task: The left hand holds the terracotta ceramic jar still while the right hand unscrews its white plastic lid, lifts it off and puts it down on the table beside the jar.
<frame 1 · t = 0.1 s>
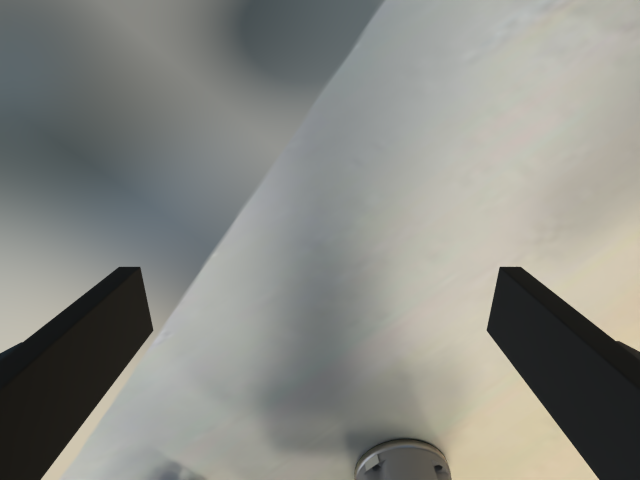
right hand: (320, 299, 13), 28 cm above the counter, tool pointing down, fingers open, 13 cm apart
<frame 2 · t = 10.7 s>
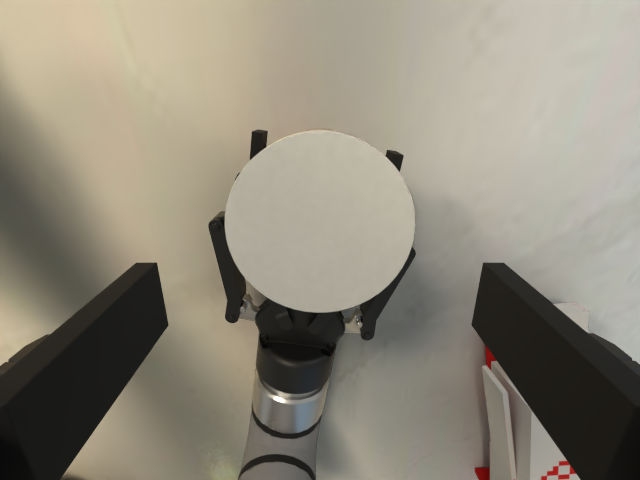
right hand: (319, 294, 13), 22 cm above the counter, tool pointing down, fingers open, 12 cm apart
toy: (513, 392, 44), on the counter
lid: (319, 229, 20), point 15 cm above the counter, screwed on, not yet turned
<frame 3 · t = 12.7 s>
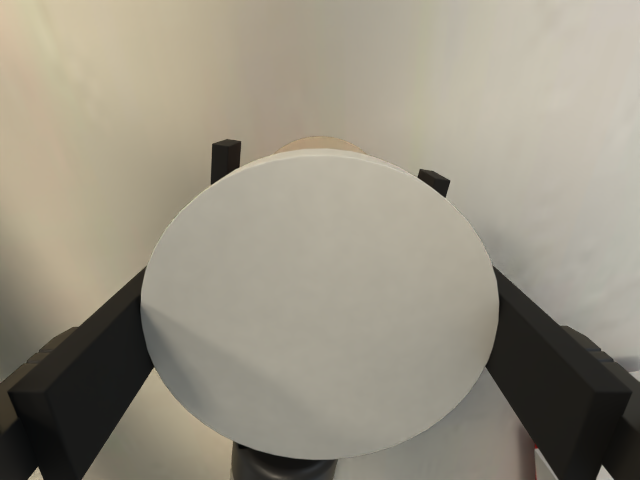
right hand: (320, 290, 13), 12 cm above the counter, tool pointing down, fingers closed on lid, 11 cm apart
toy: (564, 467, 34), on the counter
lid: (319, 329, 11), point 15 cm above the counter, screwed on, not yet turned, touching right hand
jar: (319, 206, 25), on the counter, touching left hand
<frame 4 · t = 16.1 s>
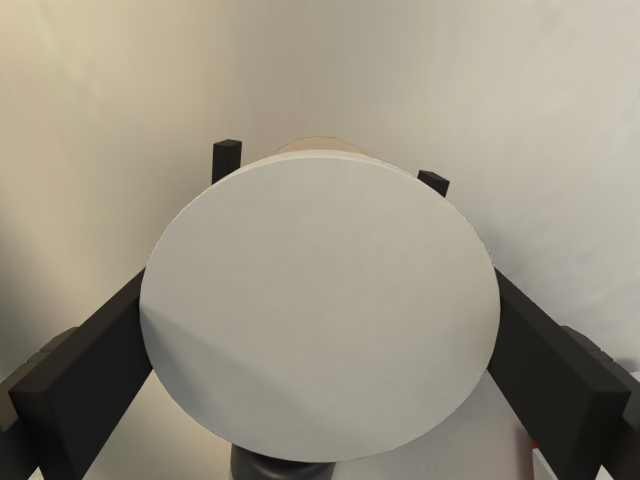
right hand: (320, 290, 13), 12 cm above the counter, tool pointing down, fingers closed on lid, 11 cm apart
toy: (562, 468, 35), on the counter
lid: (319, 331, 11), point 15 cm above the counter, turned 126° so far, risen 0.2 cm, still on its thread, touching right hand
jar: (319, 207, 25), on the counter, touching left hand
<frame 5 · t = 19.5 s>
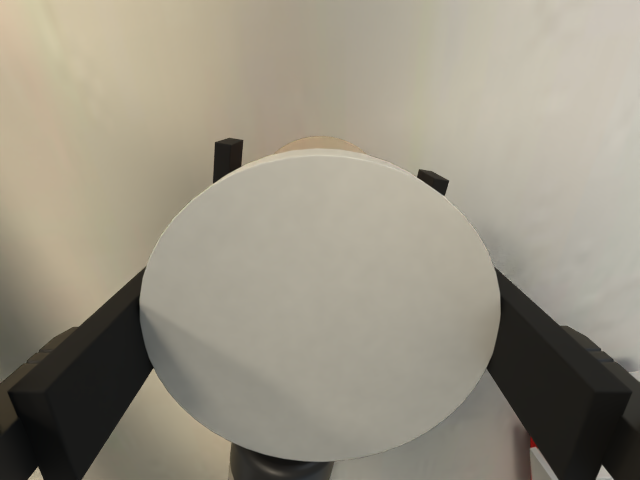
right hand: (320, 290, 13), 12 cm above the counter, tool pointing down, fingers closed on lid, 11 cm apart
toy: (559, 467, 35), on the counter
lid: (320, 330, 11), point 15 cm above the counter, turned 252° so far, risen 0.3 cm, still on its thread, touching right hand
jar: (319, 206, 25), on the counter, touching left hand
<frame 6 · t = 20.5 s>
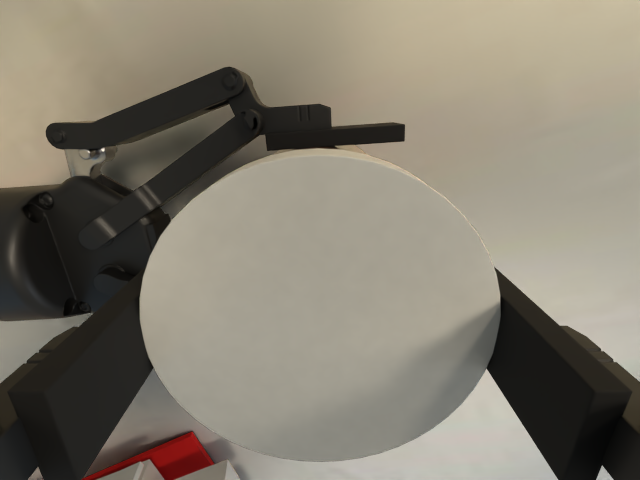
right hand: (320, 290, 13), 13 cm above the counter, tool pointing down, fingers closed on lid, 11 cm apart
left hand: (397, 230, 19), fingers closed on jar, 10 cm apart
lid: (320, 330, 11), point 15 cm above the counter, turned 329° so far, risen 0.4 cm, still on its thread, touching right hand
when the right hand's fingers open (0 cm above the counter, at t = 26.0 s): lid drops 2 cm, point 1 cm above the counter.
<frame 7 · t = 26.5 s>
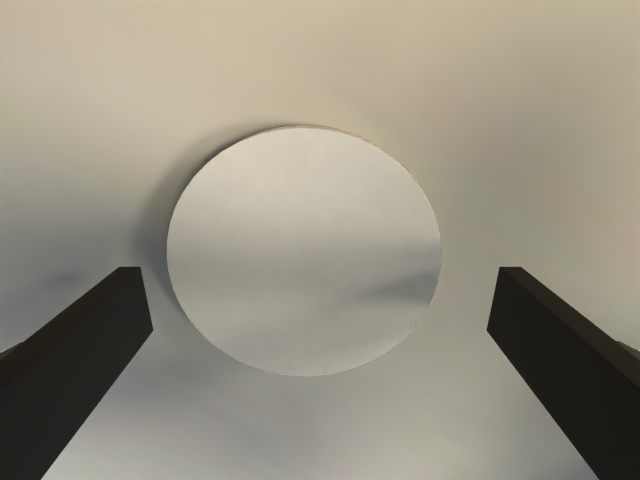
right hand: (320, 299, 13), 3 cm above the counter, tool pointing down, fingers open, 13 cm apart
lid: (305, 266, 14), point 1 cm above the counter, off its thread
when the left hand's fingers open (6 cm above the counter, at t = 27.0 s): jar stays where it is, on the counter.
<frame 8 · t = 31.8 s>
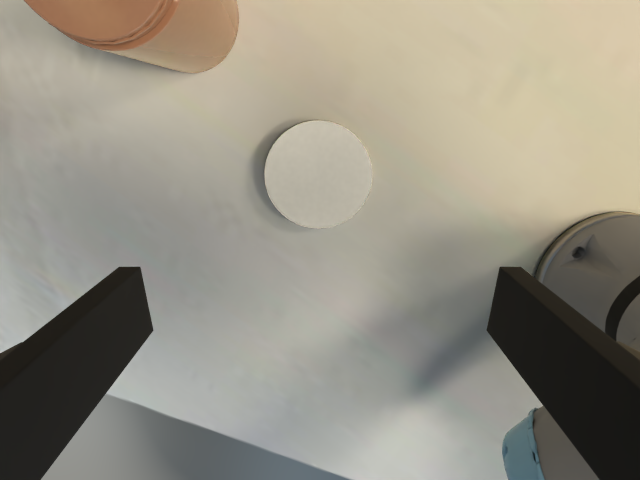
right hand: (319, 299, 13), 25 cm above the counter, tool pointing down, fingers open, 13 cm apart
lid: (318, 177, 35), point 1 cm above the counter, off its thread
jar: (184, 13, 31), on the counter
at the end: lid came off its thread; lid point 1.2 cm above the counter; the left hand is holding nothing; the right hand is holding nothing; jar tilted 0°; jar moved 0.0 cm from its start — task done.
